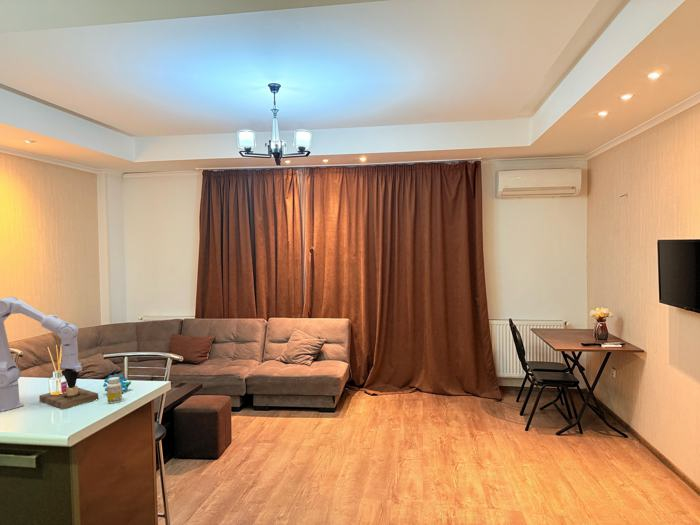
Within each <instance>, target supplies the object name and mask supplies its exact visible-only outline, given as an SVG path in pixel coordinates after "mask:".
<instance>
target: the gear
mask: <svg viewBox="0 0 700 525" xmlns="http://www.w3.org/2000/svg"><path fill="white" fill-rule="evenodd" d="M112 377H119V382H120V383H121V388H122V394H124V392H125V391H126V390H128V388H129V386H130V385H132V381H131V380H129V381H128V378H127V377H124V375H123V374H120V375H119V376H118V374H117V373H114V375H108V378H105V379H104V381H103V382H104V383H103V386H102V387H104V388H105V389H104V391H105V392H107V385H108V384H109V382H108V379H109V378H112Z"/></svg>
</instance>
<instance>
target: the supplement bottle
mask: <svg viewBox="0 0 700 525" xmlns="http://www.w3.org/2000/svg"><path fill="white" fill-rule="evenodd" d="M119 377H120V376H117V377H114V376H112V378H107V379H108V382H109V384H108V383H107V387H106V388H107V391H106V394H107V395H106V396H107V403H108V404H117V403H120V402H122V401H123V393H122V389H123V388H121V383H120V382H119Z"/></svg>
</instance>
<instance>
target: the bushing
mask: <svg viewBox="0 0 700 525" xmlns="http://www.w3.org/2000/svg"><path fill="white" fill-rule="evenodd" d="M78 388H79V387H78V385H75V387H71V388H69V387H68V386H67V387H65V389H66V390H67V398H73V397H77V396H78Z"/></svg>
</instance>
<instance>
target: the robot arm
mask: <svg viewBox="0 0 700 525" xmlns="http://www.w3.org/2000/svg"><path fill="white" fill-rule="evenodd" d="M12 314H14V315H15V314H21V315H25V316H26V317H28V318H31V319H33V320H35V321H37V322H38V323H41V326H42V328H44V329H46V330H48V331H50V332H51V333H53V334H55V335H57V336H58V337H59V339H60V340H61V342H60V343H61V344H60V346H61V347H60V348H61V360H62V362H60V363H59V368H61V369H63V370H61V374H62V375H63V377H64V378H65V382H66V384H67V387H69V388H71V387H75V386H77V385H76V383H77V379H78V376H79V373H80V372H82V371H83V366H82V362H79V348H78V346H79V345H78V334H79V332H80V330H79V326H77V325H76V324H75V323H69V321H65V320H63V319H61V318H59V316H58V315H57V314H48V315H46V314H45V313H44V312H42V311H40V310H38V309H36V308H35V307H33V306H31V305H30V304H28V303H26V302H25V301H24V300H22V299H18V298H17V297H15V296H8V297H5V298H0V412H5V410H6V411H8V410H9V411H10V410H13V409H16V408H17V409H18V408H20V407H21V408H22V407H23V406H25V404H23V403H21V402H20V388H19V379H20V378H21V375H22V374H21V373H22V372H21V369H20V368H19V367H18V366H17V363H16V362H15V360H13V358H12V354H11V350H10V345H9V341H8V334H7V332H6V328H5V321H6V320H7V319H8V318H9V316H11V315H12Z"/></svg>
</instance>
